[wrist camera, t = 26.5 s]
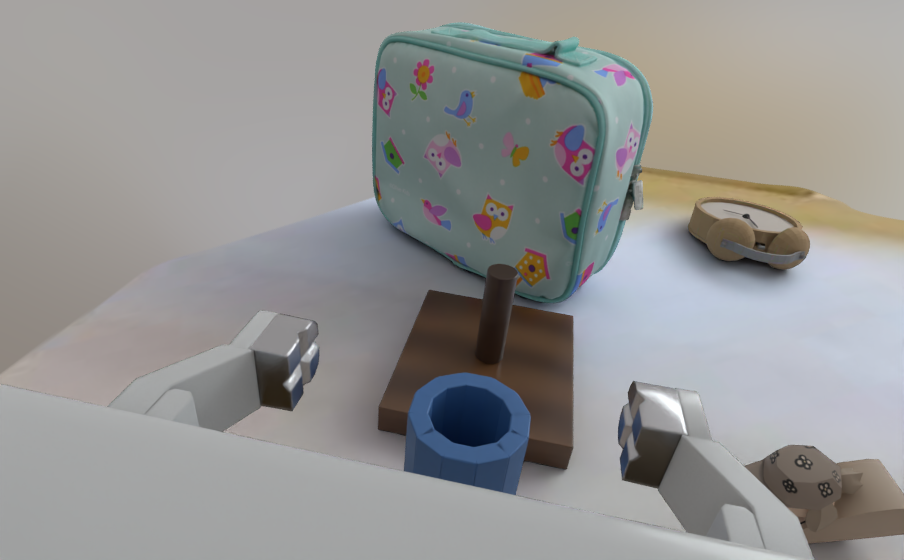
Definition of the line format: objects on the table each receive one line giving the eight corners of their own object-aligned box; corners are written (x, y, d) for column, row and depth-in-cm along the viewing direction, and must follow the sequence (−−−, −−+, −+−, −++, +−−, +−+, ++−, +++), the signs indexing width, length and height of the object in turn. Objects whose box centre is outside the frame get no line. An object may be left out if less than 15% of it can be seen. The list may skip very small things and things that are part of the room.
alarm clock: (779, 205, 67) (841, 239, 53) (766, 243, 69) (823, 286, 55) (685, 191, 68) (722, 221, 55) (675, 229, 70) (708, 268, 56)
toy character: (732, 506, 35) (724, 442, 32) (874, 489, 33) (878, 419, 30) (757, 568, 32) (750, 502, 29) (916, 552, 30) (926, 480, 27)
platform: (566, 470, 34) (601, 356, 29) (377, 429, 35) (381, 314, 30) (568, 335, 46) (593, 239, 41) (427, 309, 47) (435, 212, 42)
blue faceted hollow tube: (495, 597, 27) (525, 474, 22) (388, 571, 27) (395, 446, 23) (507, 503, 31) (534, 385, 27) (414, 483, 32) (425, 363, 27)
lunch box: (628, 291, 52) (702, 51, 41) (571, 335, 46) (642, 62, 34) (426, 198, 67) (441, 1, 55) (360, 221, 60) (361, 1, 49)
